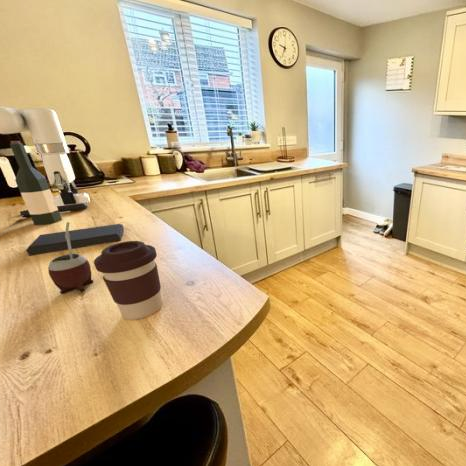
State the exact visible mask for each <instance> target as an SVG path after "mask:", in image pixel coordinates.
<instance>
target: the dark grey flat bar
mask: <svg viewBox="0 0 466 466" xmlns="http://www.w3.org/2000/svg"><path fill="white" fill-rule="evenodd" d="M124 232H125V228H124V225H123V224H122V223H116V224H109V225H101V226H93V227H87V228H86V227H85V228H80V229H79V228H78V229H72V230H69V234H70V238H69V239H70V243H71V248H72V250H73V249H78V248H84V247H89V246H96V245H102V244H109V243H115V242H122V241H121V240H122V237H123V234H124ZM65 234H66V230H65V231H58V232H57V231H56V232H49V233H44V234H39V235H38V236H37V237H36V239H34V240H33V242H31V243H30V245H28V247H27V248H26V253H27V254H28V256H30V257H31V256H34V255H35V256H36V255H41V254H47V253H53V252H54V253H55V252H60V251H66V250H69V249H68V244H67V239H66V238H65Z"/></svg>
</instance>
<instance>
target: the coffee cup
mask: <svg viewBox="0 0 466 466" xmlns="http://www.w3.org/2000/svg"><path fill="white" fill-rule="evenodd" d="M157 255H158V254H157V249H156V247H154V246H153V245H150V244H146V243H145V242H143V241H140V240H127V241H120V242H118V243H114V244H110V245H109V246H107V247H105V248H104V249H103V250H102V251H101V254H100V255H98V256H96V257H95V259H94V260H93V265H94V267H95V270H96V271H97V272H99V273H102V275H103V276H102V279H103V281H104V283H105V285H106V287H107V290H108V291H109V294H110V295H111V298H112V300H113V302H114V303H115V304H116V305H117V308H118V309H119V312H120V314H121V316H122V317H123V318H124V319H126V320H131V321H133V320H141V319H145V318H148V317H150V316H152V315H153V314H156V313H157V312H158V311H159V310H160V309H161V308H162V306H163V298H162V293H161V287H162V285H161V280H160V276H159V271H158V265H157V263H156V261H155V259H156V258H157Z"/></svg>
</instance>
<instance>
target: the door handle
mask: <svg viewBox="0 0 466 466" xmlns="http://www.w3.org/2000/svg"><path fill="white" fill-rule="evenodd" d="M57 208H58V211H59V213H60V215H62V214H69V213H72V212H77V211H78V212H79V211H84V210H87V209H88V202H87V203H79V204H71V205H63V206H57ZM19 214H20V216H21V218H22V219H23V218H25V219H26V218H27V219H28V218H31V216H30V213H29V211H28V209H25V210H21V211H19Z"/></svg>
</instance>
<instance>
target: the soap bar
mask: <svg viewBox="0 0 466 466" xmlns="http://www.w3.org/2000/svg"><path fill="white" fill-rule="evenodd" d="M73 195H74V197H75V200H76V204H79V203H87V204H88V203H90V201H91V199H90V195H89V194H88V193H86V192H78V194H73ZM53 198H54V200H53V203H54V206H63V205H64V203H63V201H62V198H61V196H60V195H56V196H55V197H53ZM69 205H71V204H69Z"/></svg>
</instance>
